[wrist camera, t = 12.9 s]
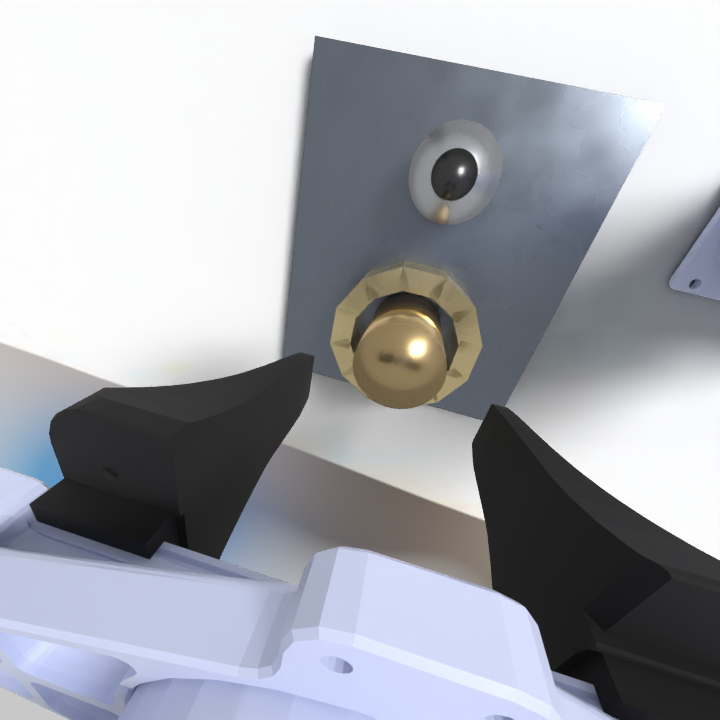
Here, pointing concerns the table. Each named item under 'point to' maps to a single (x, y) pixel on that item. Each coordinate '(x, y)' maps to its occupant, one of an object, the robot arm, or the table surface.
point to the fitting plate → (478, 251)
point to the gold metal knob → (401, 354)
